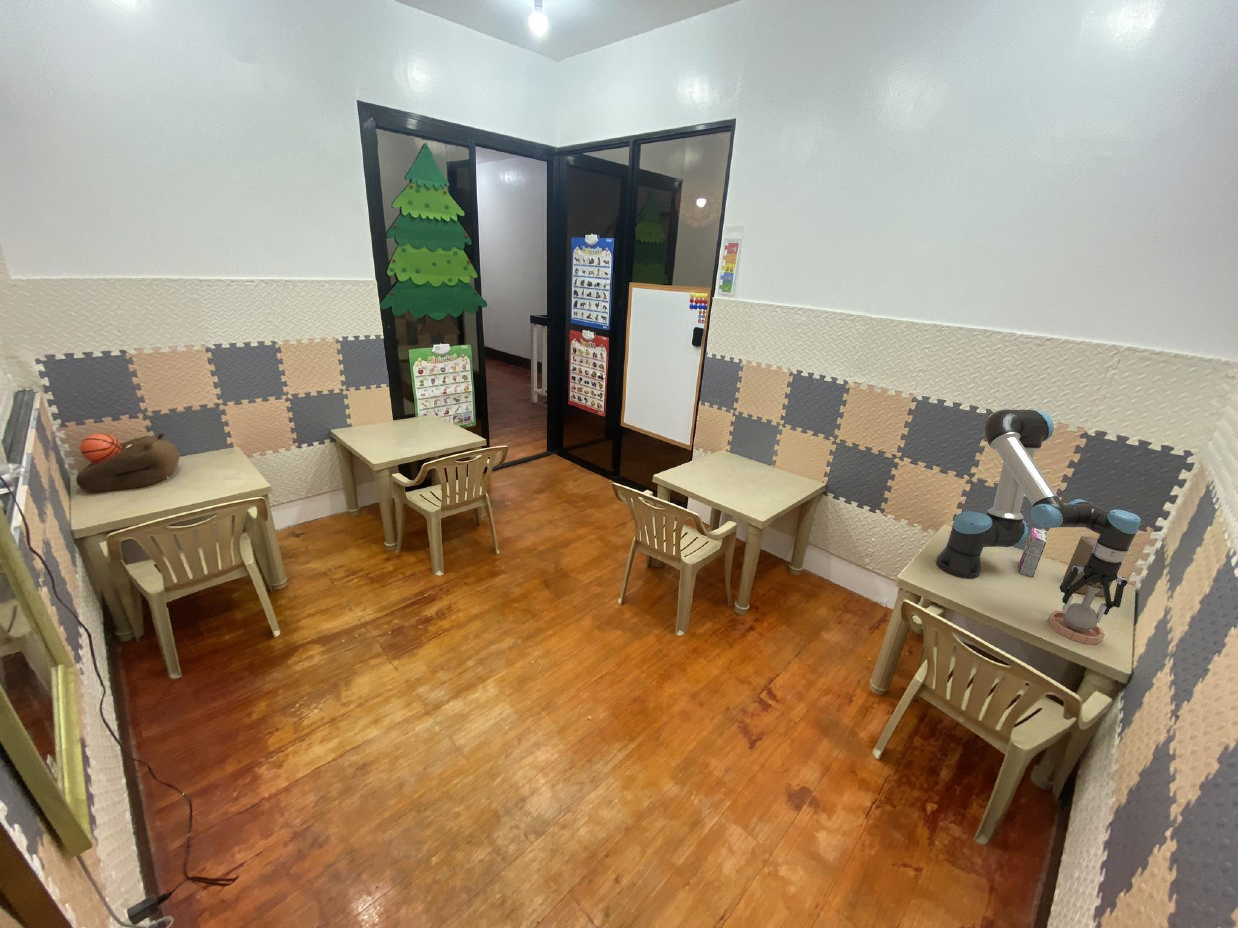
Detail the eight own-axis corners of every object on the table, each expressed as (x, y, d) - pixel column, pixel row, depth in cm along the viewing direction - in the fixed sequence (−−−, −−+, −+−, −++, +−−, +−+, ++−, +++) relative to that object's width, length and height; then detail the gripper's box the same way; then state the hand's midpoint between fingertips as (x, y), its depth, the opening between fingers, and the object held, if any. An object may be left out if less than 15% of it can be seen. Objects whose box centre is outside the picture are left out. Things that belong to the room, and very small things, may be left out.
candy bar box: (1018, 561, 217) (1031, 526, 211) (1033, 566, 214) (1047, 530, 208) (1017, 573, 208) (1031, 537, 202) (1033, 577, 206) (1047, 541, 200)
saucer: (1051, 633, 174) (1054, 627, 173) (1045, 611, 185) (1047, 605, 184) (1105, 650, 167) (1108, 643, 166) (1095, 626, 178) (1098, 620, 178)
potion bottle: (1084, 636, 170) (1106, 590, 163) (1054, 620, 177) (1073, 575, 171) (1099, 630, 173) (1121, 584, 167) (1069, 614, 181) (1088, 570, 174)
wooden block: (1106, 597, 195) (1128, 551, 188) (1076, 593, 197) (1096, 547, 189) (1089, 583, 204) (1110, 538, 197) (1061, 579, 206) (1080, 534, 199)
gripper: (1068, 552, 167) (1043, 610, 176) (1154, 573, 158) (1123, 634, 166) (1064, 542, 174) (1040, 599, 182) (1146, 562, 164) (1117, 621, 172)
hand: (1080, 615), depth 174 cm, fingers closed on potion bottle, 8 cm apart
